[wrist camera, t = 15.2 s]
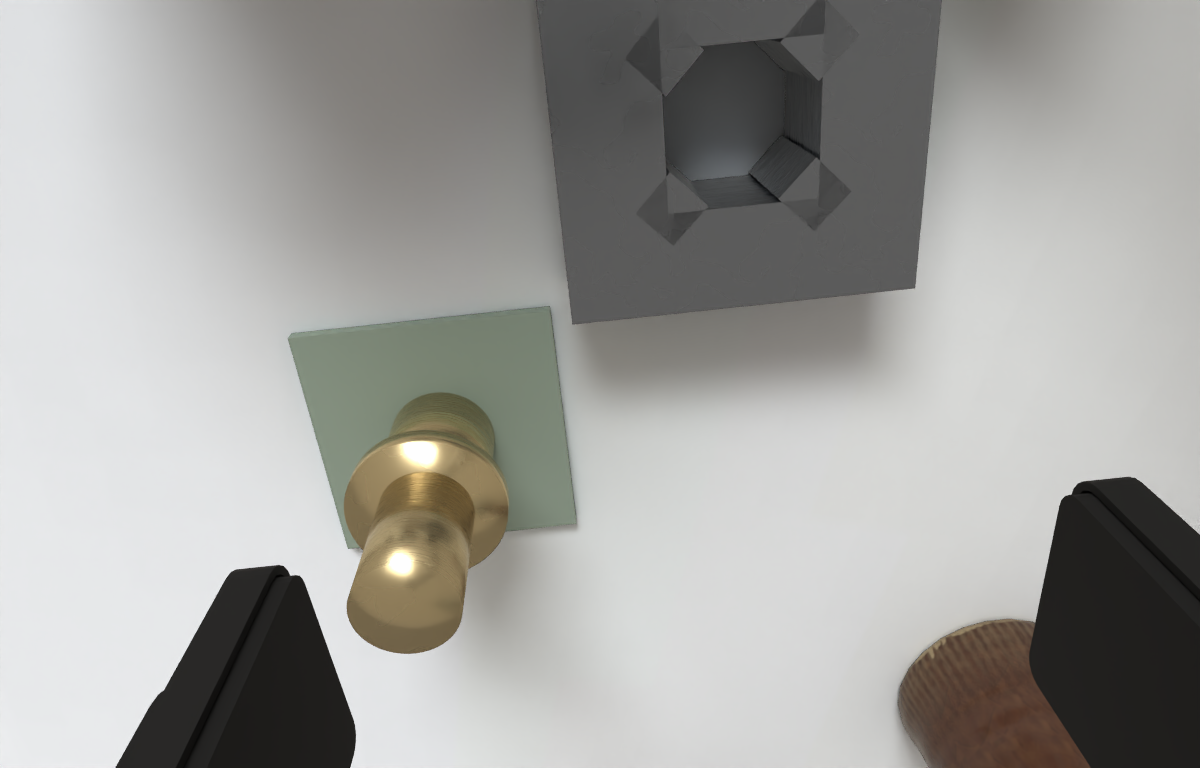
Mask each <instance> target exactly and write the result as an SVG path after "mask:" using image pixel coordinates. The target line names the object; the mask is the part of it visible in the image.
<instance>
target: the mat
mask: <svg viewBox="0 0 1200 768" xmlns="http://www.w3.org/2000/svg"><path fill="white" fill-rule="evenodd" d="M288 341H289V344H290V348H291V351H292V355H293V358H294V362H295V365H296V369H297V372H298V376H299V379H300V383H301V386H302V390H303V393H304V397H305V400H306V404H307V407H308V411H309V414H310V418H311V421H312V425H313V428H314V432H315V435H316V439H317V442H318V446H319V449H320V453H321V456H322V460H323V463H324V467H325V470H326V474H327V477H328V481H329V484H330V488H331V491H332V495H333V498H334V502H335V505H336V509H337V512H338V516H339V519H340V523H341V526H342V530H343V533H344V537H345V540H346V544H347V547H348V549H352V548H360V547H359V545H358V544H357V543H356V541H355V540H354V539H353V537H352V535H351V533H350V531H349V529H348V526H347V523H346V520H345V515H344V498H345V493H346V489H347V486H348V483H349V481H350V478H351V476H352V473H353V471H354V469H355V467H356V465H357V464H358V462H359V461H360V459H361V458H362V457H363V456H364V455H365V453H366V452H367V451H368V450H370V449H371V448H372V447H373V446H375V445H376V444H377V443H379V442H381V441H382V440H384V439H386V438H388V437H389V434H390V431H391V428H392V425H393V422H394V420H395V418H396V416H397V414H398V413H399V411H400V410H401V409H402V408H403V407H404V406H405V405H406V404H407V403H409V402H410V401H412V400H413V399H415V398H417V397H419V396H422V395H425V394H430V393H439V392H443V393H452V394H456V395H459V396H462V397H465V398H467V399H469V400H471V401H472V402H474V403H475V404H477V405H478V406H479V407H480V408H481V409H482V410H483V411H484V412H485V413H486V415H487V416H488V418H489V419H490V421H491V424H492V426H493V430H494V436H495V442H494V452H493V459H494V461H495V462H496V463H497V464H498V466H499V467H500V469H501V471H502V473H503V475H504V477H505V480H506V482H507V486H508V490H509V510H508V522H507V526H506V530H505V532H506V531H515V530H524V529H533V528H542V527H551V526H560V525H570V524H576V513H575V505H574V497H573V489H572V480H571V472H570V464H569V456H568V448H567V440H566V432H565V424H564V416H563V408H562V400H561V392H560V384H559V376H558V368H557V360H556V352H555V343H554V335H553V327H552V319H551V311H550V306H547V307H538V308H528V309H519V310H509V311H500V312H490V313H481V314H472V315H462V316H453V317H443V318H434V319H424V320H415V321H405V322H396V323H386V324H377V325H367V326H358V327H348V328H339V329H329V330H320V331H310V332H301V333H292V334H291V335H290V336H289V338H288Z"/></svg>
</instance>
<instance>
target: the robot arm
mask: <svg viewBox="0 0 1200 768" xmlns="http://www.w3.org/2000/svg"><path fill="white" fill-rule="evenodd" d="M1029 664H1030V668H1031V673H1032V675H1033V678H1034V680H1035V682H1036V684H1037V686H1038V687H1039V689H1040V690H1041V692H1042V694H1043V695H1044V697H1045V698H1046V700H1047V701H1048V703H1049V704H1050V706H1051V707H1052V709H1053V710H1054V712H1055V713H1056V715H1057V717H1058V718H1059V720H1060V721H1061V723H1062V724H1063V726H1064V727H1065V729H1066V730H1067V732H1068V733H1069V735H1070V737H1071V738H1072V740H1073V741H1074V743H1075V744H1076V746H1077V747H1078V749H1079V750H1080V752H1081V753H1082V755H1083V756H1084V758H1085V760H1086V761H1087V763H1088V764H1089V766H1090V767H1091V768H1200V535H1199V534H1198V533H1197V532H1196V531H1195V530H1194V529H1193V528H1192V527H1191V526H1189V525H1188V524H1187V523H1186V522H1185V521H1184V520H1183V519H1182V518H1181V517H1180V516H1178V515H1177V514H1176V513H1175V512H1174V511H1173V510H1172V509H1171V508H1170V507H1168V506H1167V505H1166V504H1165V503H1164V502H1163V501H1162V500H1161V499H1160V498H1158V497H1157V496H1156V495H1155V494H1154V493H1153V492H1152V491H1151V490H1150V489H1148V488H1147V487H1146V486H1145V485H1144V484H1143V483H1142V482H1140V481H1139V480H1137V479H1136V478H1131V477H1122V478H1113V479H1103V480H1093V481H1084V482H1081V483H1078V484H1077V485H1076V487H1075V488H1074V489H1073V492H1072V495H1068V496H1065V497H1064V498H1063V499H1062V500H1061V503H1060V506H1059V511H1058V516H1057V520H1056V525H1055V530H1054V535H1053V540H1052V545H1051V550H1050V554H1049V559H1048V564H1047V569H1046V574H1045V579H1044V583H1043V588H1042V593H1041V598H1040V603H1039V608H1038V613H1037V617H1036V622H1035V627H1034V632H1033V637H1032V642H1031V646H1030V651H1029ZM355 743H356V731H355V724H354V720H353V717H352V715H351V712H350V709H349V706H348V703H347V701H346V698H345V695H344V692H343V689H342V687H341V684H340V681H339V678H338V675H337V673H336V670H335V667H334V664H333V661H332V659H331V656H330V653H329V650H328V647H327V645H326V642H325V639H324V636H323V633H322V631H321V628H320V625H319V622H318V619H317V617H316V614H315V611H314V608H313V605H312V603H311V600H310V597H309V594H308V591H307V589H306V586H305V583H304V581H303V579H302V578H301V577H300V576H297V575H295V576H290V574H289V572H288V570H287V569H286V568H285V567H284V566H280V565H276V566H266V567H256V568H247V569H237V570H234V571H232V572H231V573H230V574H229V575H228V577H227V578H226V580H225V581H224V583H223V585H222V587H221V589H220V590H219V592H218V594H217V596H216V598H215V599H214V601H213V603H212V605H211V607H210V608H209V610H208V612H207V614H206V616H205V618H204V619H203V621H202V623H201V625H200V627H199V628H198V630H197V632H196V634H195V636H194V637H193V639H192V641H191V643H190V645H189V646H188V648H187V650H186V652H185V654H184V655H183V657H182V659H181V661H180V663H179V664H178V666H177V668H176V670H175V672H174V673H173V675H172V677H171V679H170V681H169V682H168V684H167V686H166V688H165V690H164V691H163V692H161V693H160V694H159V695H158V696H157V697H156V699H155V700H154V701H153V703H152V704H151V706H150V707H149V709H148V711H147V712H146V714H145V716H144V718H143V720H142V721H141V723H140V725H139V727H138V728H137V730H136V732H135V734H134V736H133V737H132V739H131V741H130V743H129V744H128V746H127V748H126V750H125V752H124V753H123V755H122V757H121V759H120V760H119V762H118V764H117V766H116V768H350V767H351V763H352V759H353V755H354V751H355Z"/></svg>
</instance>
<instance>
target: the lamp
mask: <svg viewBox="0 0 1200 768" xmlns="http://www.w3.org/2000/svg"><path fill="white" fill-rule="evenodd" d="M1034 627H1035V622H1031V621H1023V620H1015V619H1002V620H992V621H984V622H981V623H977V624H974V625H970V626H967V627H963V628H961V629H959V630H957V631H955V632H953V633H951V634H949V635H947V636H945V637H943V638H941V639H940V640H938V641H937V642H936V643H934V644H933V645H932V646H931V647H929V648H928V649H927V650H925V651H924V652H923V653H922V654H921V655H920V656H919V658H918V659H917V660H916V661H915V662H914V663H913V665H912V666H911V667H910V668H909V670H908V672H907V674H906V676H905V678H904V680H903V682H902V684H901V686H900V692H899V699H898V706H899V710H900V714H901V719H902V723H903V725H904V728H905V730H906V731H907V733H908V735H909V736H910V738H911V739H912V741H913V742H914V744H915V745H916V746H917V748H918V749H919V751H920V752H921V754H922V756H923V758H924V760H925V761H926V763H927V765H928V767H929V768H1091V767H1090V766H1089V764H1088V763H1087V761H1086V760H1085V758H1084V756H1083V755H1082V753H1081V752H1080V750H1079V749H1078V747H1077V746H1076V744H1075V743H1074V741H1073V740H1072V738H1071V737H1070V735H1069V733H1068V732H1067V730H1066V729H1065V727H1064V726H1063V724H1062V723H1061V721H1060V720H1059V718H1058V717H1057V715H1056V713H1055V712H1054V710H1053V709H1052V707H1051V706H1050V704H1049V703H1048V701H1047V700H1046V698H1045V697H1044V695H1043V694H1042V692H1041V690H1040V689H1039V687H1038V686H1037V684H1036V682H1035V680H1034V678H1033V675H1032V673H1031V668H1030V664H1029V651H1030V646H1031V642H1032V637H1033V632H1034Z"/></svg>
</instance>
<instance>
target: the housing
mask: <svg viewBox="0 0 1200 768" xmlns="http://www.w3.org/2000/svg"><path fill="white" fill-rule="evenodd" d="M536 2H537V11H538V20H539V29H540V38H541V47H542V56H543V65H544V74H545V83H546V92H547V101H548V110H549V119H550V128H551V137H552V146H553V154H554V163H555V172H556V181H557V190H558V199H559V208H560V217H561V226H562V235H563V244H564V253H565V262H566V271H567V280H568V289H569V298H570V307H571V315H572V324H582V323H591V322H601V321H610V320H620V319H629V318H638V317H648V316H657V315H667V314H676V313H686V312H695V311H704V310H714V309H723V308H733V307H742V306H752V305H761V304H770V303H780V302H789V301H799V300H808V299H818V298H827V297H837V296H846V295H855V294H865V293H874V292H884V291H893V290H903V289H912V288H915V282H916V272H917V261H918V250H919V239H920V229H921V218H922V207H923V196H924V185H925V175H926V164H927V153H928V142H929V131H930V121H931V110H932V99H933V88H934V78H935V67H936V56H937V45H938V34H939V24H940V13H941V2H942V0H536ZM748 41H754V42H755V43H756V44H757V45H758V46H759V47H760V48H761V49H762V50H763V51H764V52H765V53H766V54H767V55H768V56H769V57H770V58H771V59H772V60H773V61H774V62H775V63H776V64H777V65H778V66H779V67H781V68H782V69H784V70H785V110H784V137H783V136H780V137H779V138H778V139H777V140H776V142H775V143H774V144H773V145H772V146H771V147H770V148H769V149H768V151H767V152H766V153H765V154H764V155H763V156H762V157H761V158H760V160H759V161H758V162H757V163H756V164H755V165H754V166H753V167H752V169H751V170H750V171H749V173H750V174H751V175H746V176H736V177H726V178H717V179H707V180H697V181H689V180H688V178H687V177H685V176H684V175H683V174H682V173H681V172H680V171H679V170H677V169H676V168H675V167H674V166H673V165H672V164H671V163H669V162H668V161H667V160H666V159H665V140H664V120H663V100H662V93H663V94H664V95H665V96H667V95H668V94H669V93H670V91H671V90H672V89H673V88H674V87H675V85H676V84H677V83H678V82H679V80H680V79H681V78H682V77H683V76H684V74H685V73H686V72H687V71H688V69H689V68H690V67H691V66H692V65H693V63H694V62H695V61H696V60H697V58H698V57H699V56H700V55H701V54H702V52H703V51H704V50H703V49H702V48H701V47H700V46H708V45H718V44H728V43H738V42H748Z"/></svg>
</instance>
